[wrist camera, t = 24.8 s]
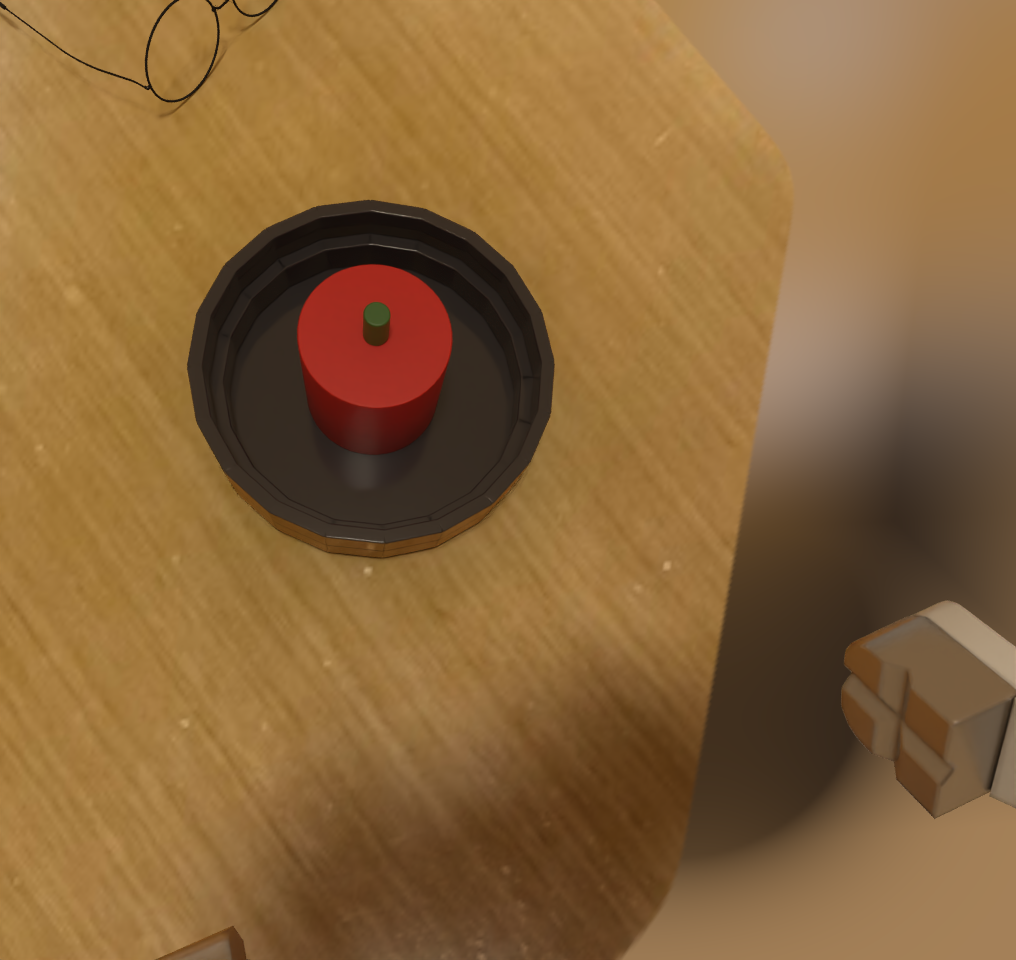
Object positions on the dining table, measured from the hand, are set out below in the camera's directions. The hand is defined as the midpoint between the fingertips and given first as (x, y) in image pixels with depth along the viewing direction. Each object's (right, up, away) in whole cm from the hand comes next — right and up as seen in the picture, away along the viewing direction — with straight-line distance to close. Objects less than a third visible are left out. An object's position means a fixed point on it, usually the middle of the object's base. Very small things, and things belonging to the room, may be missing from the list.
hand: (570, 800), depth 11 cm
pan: (-7, +8, +31) cm, 33 cm away
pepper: (-7, +8, +31) cm, 32 cm away
